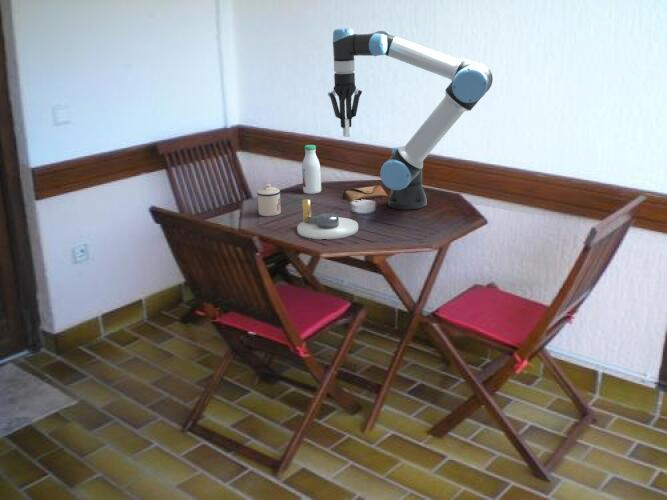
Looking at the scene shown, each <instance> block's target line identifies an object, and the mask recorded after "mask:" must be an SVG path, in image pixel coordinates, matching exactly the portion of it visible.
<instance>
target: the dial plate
mask: <svg viewBox="0 0 667 500" xmlns="http://www.w3.org/2000/svg"><path fill="white" fill-rule="evenodd" d="M338 217H339V216H338ZM296 229H297V230H296V231H297V234H298V235H299V236H301V237H303V238H307V239H311V238H312V239H313V240H322V239H327V240H337V239H342V238H343V239H344V238H346V237H350V236H353V235H355V234H356V233H358V231H359V224H358V222H357V221H356V220H354V219H351V218H347V217H339V225H338V226H336V227H332V228H321V227H318V226H317V224H315V223H309V222H303V221H302V222H300V223H299V224H297V226H296Z"/></svg>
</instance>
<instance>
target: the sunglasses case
mask: <svg viewBox="0 0 667 500" xmlns="http://www.w3.org/2000/svg"><path fill="white" fill-rule="evenodd" d="M383 196H387V197H389V196H390V194H388V193H387V192H386V191H385V190H384V188H383V186H382V185H381V184H376V185H371V186H364V187H363V186H362V187H358V188H348V189H345V190H343V193H342V198H343V199H345V198H346V199H345V200H347V199H348V200H347V201H349V200H350V201H349V202H351V201H354V200H360V201H362V200H361V199H366V200H371V199H370V198H372V199H377V197H379V198H384V197H383ZM375 197H376V198H375Z"/></svg>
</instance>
